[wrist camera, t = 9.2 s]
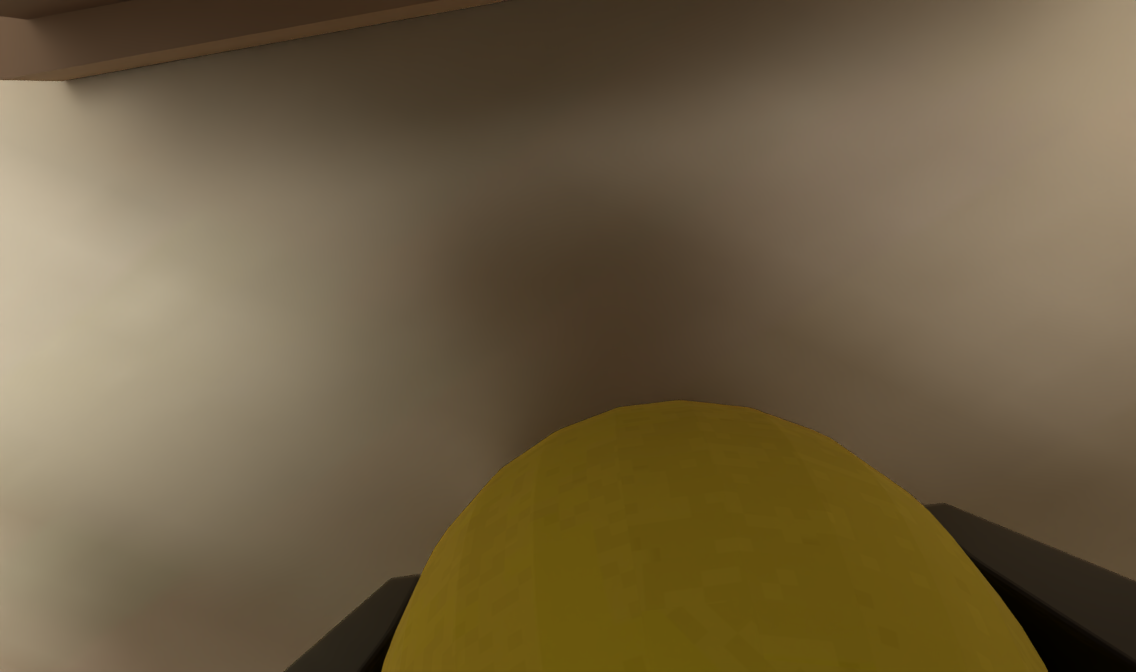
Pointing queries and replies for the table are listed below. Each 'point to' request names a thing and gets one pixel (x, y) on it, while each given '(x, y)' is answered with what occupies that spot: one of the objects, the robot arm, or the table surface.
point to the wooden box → (172, 29)
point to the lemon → (700, 560)
